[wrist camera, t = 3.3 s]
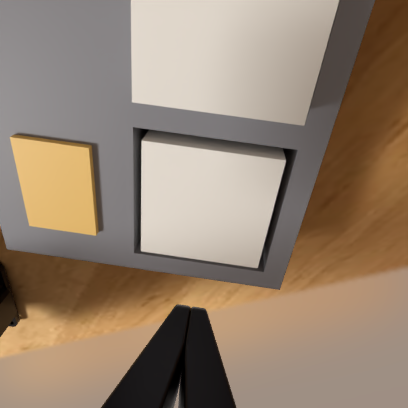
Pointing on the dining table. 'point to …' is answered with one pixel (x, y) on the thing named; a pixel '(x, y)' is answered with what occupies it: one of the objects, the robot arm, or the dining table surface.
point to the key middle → (230, 55)
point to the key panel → (131, 138)
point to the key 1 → (207, 197)
